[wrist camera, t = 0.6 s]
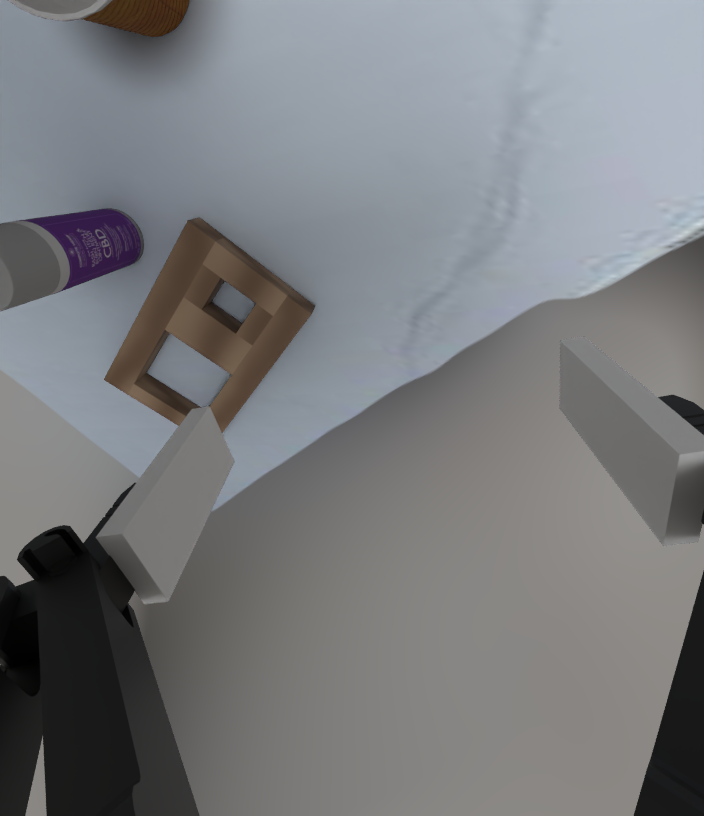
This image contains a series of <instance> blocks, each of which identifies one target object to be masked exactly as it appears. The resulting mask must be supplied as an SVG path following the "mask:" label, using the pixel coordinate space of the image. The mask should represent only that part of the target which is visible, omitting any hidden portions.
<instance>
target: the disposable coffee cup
mask: <svg viewBox="0 0 704 816" xmlns="http://www.w3.org/2000/svg"><path fill="white" fill-rule="evenodd" d="M8 1H10V2H11V3H13V4H14V5H16V6H17V7H19V8H20V9H22V10H25V11H27V12H29V13H31V14H33V15H36V16H39V17H42V18H45V19H53V20H60V21H72V20H78V19H84V20H86V21H91V22H95V23H98V24H103V25H107V26H110V27H114V28H118V29H123V30H126V31H130V32H134V33H138V34H141V35H144V36H150V37H158V36H163V35H165V34H167V33H170V32H171V31H173V30H174V29H175V28H176V27H177V26H178V25H179V24H180V22H181V21H182V19H183V17H184V15H185V13H186V11H187V7H188V4H189V0H8Z"/></svg>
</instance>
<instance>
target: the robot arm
mask: <svg viewBox="0 0 704 816" xmlns="http://www.w3.org/2000/svg"><path fill="white" fill-rule="evenodd" d="M560 410H561V411H562V412H563V414H564V415H565V416H566V418H567V419H568V420H569V422H570V423H571V424H572V426H573V427H574V428H575V430H576V431H577V432H578V434H579V435H580V436H581V438H582V439H583V440H584V441H585V442H586V444H587V445H588V447H589V448H590V449H591V451H592V452H593V453H594V455H595V456H596V457H597V459H598V460H599V461H600V463H601V464H602V465H603V467H604V468H605V469H606V471H607V472H608V473H609V474H610V476H611V477H612V479H613V480H614V481H615V483H616V484H617V485H618V487H619V488H620V489H621V490H622V492H623V493H624V495H625V496H626V497H627V499H628V500H629V501H630V503H631V504H632V505H633V507H634V508H635V509H636V511H637V512H638V513H639V514H640V516H641V517H642V518H643V520H644V521H645V522H646V524H647V525H648V526H649V528H650V529H651V530H652V532H653V533H654V534H655V535H656V537H657V538H658V539H659V541H660V542H661V544H662V545H663V546H667V545H676V544H685V543H694V542H698V540H699V536H700V532H701V528H702V523H703V524H704V410H703V409H702V408H700V407H699V406H698V405H696V404H695V403H693V402H691V401H688V400H686V399H683V398H681V397H678V396H675V395H669V396H663V397H657V396H655V395H654V394H653V393H652V392H651V391H650V390H648V389H647V388H646V387H645V386H643V385H642V384H641V383H640V382H639V381H637V380H636V379H635V378H634V377H633V376H631V375H630V374H629V373H628V372H627V371H625V370H624V369H623V368H622V367H620V366H619V365H618V364H617V363H616V362H614V361H613V360H612V359H611V358H609V357H608V356H607V355H606V354H605V353H604V352H602V351H601V350H599V348H597V347H596V346H595V345H594V344H593V343H591V342H590V341H589V340H588V339H586V338H585V337H584V336H582V337H577V338H571V339H566V340H561V341H560ZM234 462H235V461H234V459H233V457H232V455H231V453H230V450H229V448H228V446H227V444H226V441H225V439H224V437H223V435H222V433H221V430H220V428H219V426H218V424H217V422H216V419H215V417H214V415H213V413H212V410H211V408H210V406H207V407H201V408H196V409H191V411H190V412H189V413H188V415H187V416H186V417H185V419H184V420H183V421H182V423H181V424H180V425H179V427H178V428H177V429H176V431H175V432H174V433H173V435H172V436H171V437H170V439H169V440H168V441H167V443H166V444H165V445H164V447H163V448H162V449H161V451H160V452H159V453H158V455H157V456H156V457H155V459H154V460H153V461H152V463H151V464H150V465H149V467H148V468H147V469H146V471H145V472H144V473H143V475H142V476H141V477H140V479H139V480H138V481H137V483H134V484H133V485H132V486H131V487H129V488H128V489H127V490H126V491H124V492H123V493H122V494H121V495H120V497H119V498H118V499H117V501H116V502H115V503H114V505H113V508H110V509H109V511H108V512H107V513H106V515H105V517H104V518H103V519H102V520H101V521H100V523H99V524H98V525H97V526H96V528H95V529H94V530H93V532H92V533H91V534H90V535H89V537H88V538H87V539H86V541H85V542H84V543H82V541H81V540H80V539H79V537H78V536H77V535H76V533H75V532H74V531H73V530H72V528H71V527H70V526H65V525H63V526H58V527H54V528H52V529H50V530H47V531H45V532H43V533H42V534H40V535H39V536H37V537H35V538H34V539H33V540H32V541H30V542H29V543H28V544H27V545H26V546H25V547H24V548H23V549H22V551H21V552H20V553H19V556H18V559H17V560H18V562H19V563H20V564H21V565H22V566H23V567H24V568H25V570H26V571H27V572H28V573H29V574H30V575H31V576H32V577H33V579H34V580H32V581H30V582H27V583H24V584H21V585H19V586H16V587H15V586H14V585H13V583H12V582H11V581H10V580H8V579H7V577H5V576H0V664H1V665H0V816H25V813H26V809H27V804H28V800H29V795H30V791H31V786H32V781H33V777H34V772H35V768H36V763H37V759H38V754H39V750H40V745H41V740H42V736H43V745H44V766H45V785H46V787H45V788H46V809H47V816H199V813H198V810H197V807H196V803H195V800H194V797H193V794H192V791H191V788H190V785H189V782H188V778H187V775H186V772H185V769H184V766H183V763H182V760H181V757H180V753H179V750H178V747H177V744H176V741H175V738H174V735H173V732H172V728H171V725H170V722H169V719H168V716H167V713H166V710H165V707H164V703H163V700H162V698H161V694H160V691H159V688H158V685H157V682H156V678H155V676H154V672H153V669H152V666H151V663H150V660H149V657H148V653H147V650H146V647H145V644H144V641H143V638H142V635H141V632H140V628H139V625H138V622H137V619H136V616H135V613H134V610H133V609H132V608H131V606H130V605H129V604H128V602H129V600H130V598H131V596H132V595H133V593H134V591H135V592H136V594H137V595H138V596H139V598H140V599H141V600H142V602H143V603H144V604H151V603H160V602H167V601H169V599H170V596H171V594H172V592H173V590H174V588H175V586H176V584H177V582H178V580H179V578H180V576H181V573H182V571H183V569H184V567H185V565H186V563H187V561H188V559H189V557H190V554H191V552H192V550H193V548H194V546H195V544H196V542H197V540H198V538H199V535H200V533H201V531H202V529H203V527H204V525H205V523H206V521H207V519H208V516H209V514H210V512H211V510H212V508H213V506H214V504H215V502H216V500H217V497H218V495H219V493H220V491H221V489H222V487H223V485H224V483H225V481H226V478H227V476H228V474H229V472H230V470H231V468H232V466H233V464H234ZM634 816H704V572H703V575H702V579H701V582H700V586H699V590H698V593H697V597H696V600H695V604H694V607H693V611H692V614H691V618H690V621H689V625H688V628H687V632H686V636H685V639H684V643H683V646H682V650H681V653H680V657H679V660H678V664H677V668H676V671H675V675H674V678H673V681H672V685H671V689H670V692H669V696H668V699H667V703H666V706H665V710H664V713H663V717H662V721H661V724H660V728H659V732H658V735H657V738H656V742H655V745H654V749H653V752H652V756H651V759H650V762H649V765H648V768H647V771H646V775H645V778H644V782H643V785H642V789H641V792H640V795H639V799H638V802H637V806H636V810H635V813H634Z"/></svg>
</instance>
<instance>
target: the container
mask: <svg viewBox="0 0 704 816" xmlns="http://www.w3.org/2000/svg"><path fill="white" fill-rule="evenodd" d="M143 247H144V243H143V237H142V234H141V231H140V229H139V227H138V226H137V224H136V223H135V222H134V221H133V219H131V218H130V217H129V216H128V215H127V214H125V213H123V212H121V211H119V210H116V209H100V210H92V211H85V212H78V213H70V214H63V215H55V216H48V217H41V218H33V219H26V220H19V221H13V222H8V223H2V224H0V311H3V310H6V309H9V308H12V307H15V306H18V305H21V304H24V303H27V302H30V301H33V300H36V299H39V298H42V297H45V296H48V295H51V294H55V293H58V292H60V291H63V290H66V289H68V288H71V287H73V286H76V285H79V284H81V283H84V282H87V281H89V280H92V279H95V278H97V277H100V276H102V275H105V274H108V273H110V272H113V271H116V270H118V269H121V268H124V267H126V266H129V265H131V264H133V263H135V262H136V261H138V260H139V258H140V257H141V255H142V252H143Z"/></svg>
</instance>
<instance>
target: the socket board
mask: <svg viewBox="0 0 704 816" xmlns="http://www.w3.org/2000/svg"><path fill="white" fill-rule="evenodd" d="M224 280H225V281H226V282H227V283H229V284H230V285H231V286H233V287H234V288H236V289H237V290H238V291H240V292H241V293H242V294H244V295H245V296H246V297H248V298H249V299H251V300H252V301H253V302H255V303H256V305H255V306H254V308H253V309H252V311H251V312H250V314H249V315H248V317H247V318H246V319H245V321H244V322H243V324H242V323H240V322H239V321H237V320H236V319H234V318H233V317H232V316H230V315H229V314H227V313H226V312H225V311H223V310H222V309H220V308H219V307H218V306H216V305H215V304H213V303H212V300H213V298H214V297H215V295H216V294H217V292H218V290H219V289H220V287H221V285H222V284H223V282H224ZM314 308H315V305H313V304H312V303H311V302H309V301H308V300H307V299H305V298H304V297H303V296H301V295H300V294H299V293H298V292H296V291H295V290H294V289H292V288H291V287H290V286H288V285H287V284H286V283H284V282H283V281H282V280H281V279H279V278H278V277H277V276H275V275H274V274H273V273H271V272H270V271H269V270H268V269H266V268H265V267H264V266H262V265H261V264H260V263H258V262H257V261H256V260H254V259H253V258H252V257H251V256H249V255H248V254H247V253H245V252H244V251H243V250H241V249H240V248H239V247H237V246H236V245H235V244H234V243H232V242H231V241H230V240H228V239H227V238H226V237H224V236H223V235H222V234H221V233H219V232H218V231H217V230H215V229H214V228H213V227H211V226H210V225H209V224H207V223H206V222H205V221H204V220H202V219H201V218H196V219H192V220H188V221H187V223H186V225H185V227H184V229H183V231H182V233H181V234H180V236H179V238H178V240H177V242H176V244H175V246H174V248H173V250H172V252H171V253H170V255H169V257H168V259H167V261H166V263H165V265H164V267H163V269H162V270H161V272H160V274H159V276H158V278H157V280H156V282H155V284H154V286H153V288H152V289H151V291H150V293H149V295H148V297H147V299H146V301H145V303H144V305H143V306H142V308H141V310H140V312H139V314H138V316H137V318H136V320H135V322H134V323H133V325H132V327H131V329H130V331H129V333H128V335H127V337H126V339H125V341H124V342H123V344H122V346H121V348H120V350H119V352H118V354H117V356H116V358H115V359H114V361H113V363H112V365H111V367H110V369H109V371H108V373H107V375H106V377H105V378H104V380H105V381H107V382H108V383H110V384H111V385H113V386H115V387H116V388H118V389H120V390H121V391H123V392H125V393H126V394H128V395H129V396H131V397H133V398H134V399H136V400H138V401H139V402H141V403H142V404H144V405H146V406H147V407H149V408H151V409H152V410H154V411H156V412H157V413H159V414H160V415H162V416H164V417H165V418H167V419H169V420H170V421H172V422H173V423H175V424H177V425H178V426H179V425H180V424H181V423H182V421H183V420H184V419H185V417H186V416H187V415H188V413H189V412H190V411H191V409H196V408H200V407H199V406H197V405H196V404H194V403H193V402H191V401H189V400H188V399H186V398H185V397H183V396H182V395H180V394H178V393H177V392H175V391H174V390H172V389H170V388H169V387H167V386H166V385H164V384H163V383H161V382H159V381H158V380H156V379H155V378H153V377H152V376H150V375H148V374H147V371H148V369H149V367H150V366H151V364H152V362H153V361H154V359H155V357H156V355H157V354H158V352H159V350H160V349H161V347H162V345H163V343H164V342H165V340H166V338H167V337H168V335H169V333H170V334H172V335H173V336H175V337H176V338H178V339H179V340H181V341H182V342H184V343H185V344H187V345H188V346H190V347H191V348H193V349H194V350H196V351H197V352H199V353H200V354H202V355H203V356H205V357H206V358H208V359H209V360H211V361H212V362H214V363H215V364H217V365H218V366H220V367H221V368H223V369H224V370H226V371H227V372H229V373H230V374H231V377H230V378H229V380H228V381H227V383H226V384H225V385H224V387H223V388H222V390H221V391H220V392H219V394H218V395H217V397H216V398H215V400H214V401H213V402H212V404H211V405H210V408H211V410H212V413H213V415H214V417H215V419H216V422H217V424H218V426H219V428H220V430H221V433H222V432H223V431H224V430H225V428H226V427H227V426H228V424H229V423H230V422H231V420H232V419H233V418H234V416H235V415H236V414H237V412H238V411H239V410H240V408H241V407H242V406H243V404H244V403H245V402H246V401H247V399H248V398H249V397H250V395H251V394H252V393H253V391H254V390H255V389H256V387H257V386H258V385H259V383H260V382H261V381H262V379H263V378H264V377H265V375H266V374H267V373H268V371H269V370H270V369H271V367H272V366H273V365H274V363H275V362H276V361H277V359H278V358H279V357H280V355H281V354H282V353H283V351H284V350H285V349H286V347H287V346H288V345H289V343H290V342H291V341H292V339H293V338H294V337H295V335H296V334H297V333H298V331H299V330H300V329H301V327H302V326H303V325H304V323H305V322H306V321H307V319H308V318H309V317H310V315H311V314H312V312H313V310H314Z"/></svg>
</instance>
